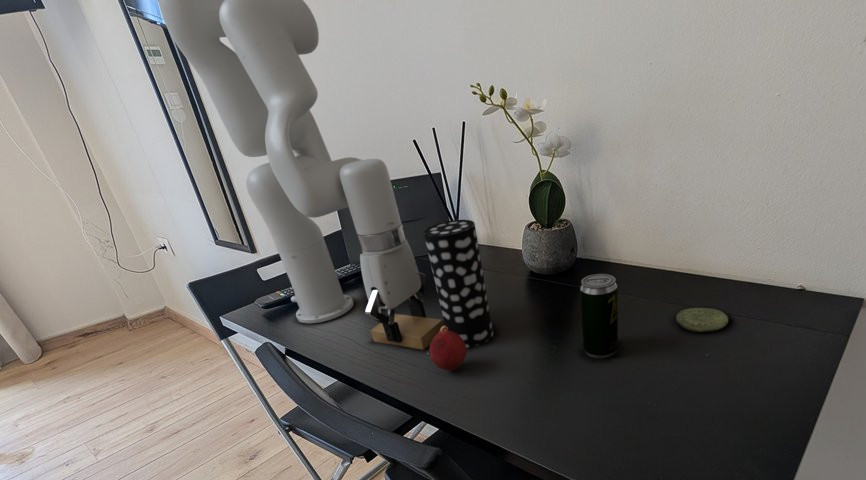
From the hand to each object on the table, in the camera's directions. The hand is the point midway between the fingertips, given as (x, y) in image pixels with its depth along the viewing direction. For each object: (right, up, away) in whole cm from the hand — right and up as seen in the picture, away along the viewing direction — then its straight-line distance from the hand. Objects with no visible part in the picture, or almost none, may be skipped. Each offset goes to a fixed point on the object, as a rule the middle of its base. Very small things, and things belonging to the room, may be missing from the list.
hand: (407, 330), depth 88 cm
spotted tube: (+12, -1, -3) cm, 12 cm away
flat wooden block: (0, -1, +1) cm, 1 cm away
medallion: (+51, +1, -10) cm, 52 cm away
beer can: (+33, -4, -13) cm, 36 cm away
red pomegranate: (+10, -7, -12) cm, 17 cm away
